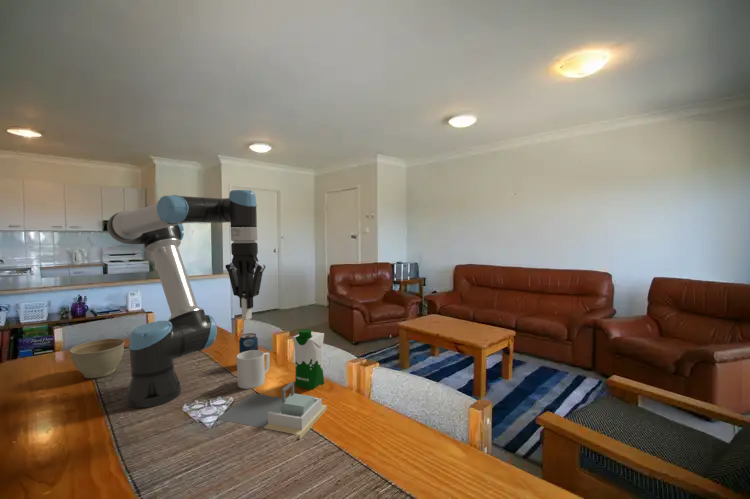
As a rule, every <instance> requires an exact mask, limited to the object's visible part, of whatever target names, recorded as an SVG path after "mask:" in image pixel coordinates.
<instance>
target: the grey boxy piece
mask: <svg viewBox="0 0 750 499" xmlns="http://www.w3.org/2000/svg"><path fill="white" fill-rule="evenodd" d="M289 389H290V394H291V395H290V394H289V395H290V396H289V395H288V396H287V394H286V391H288V390H289ZM286 396H287V397H286ZM314 397H315V396H313V395H307V394H300V393H295V381H291V382H289V383H288V384H287V385H285V386H284V387H283V388H282V389H281V398H282V402H281V414H287V415H293V416H299V417H301V416H302V415H303V414H304V413H305V412H306V411H307V410H308V409H309V408H310V407H311V406H312V405H313V404H314Z"/></svg>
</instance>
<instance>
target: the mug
mask: <svg viewBox="0 0 750 499" xmlns="http://www.w3.org/2000/svg"><path fill="white" fill-rule="evenodd" d="M265 357H266V358H265ZM270 359H271V358H270V352H264V351H262V350H259V349H258V350H250V351H245V352H242V353H240V352H239V353H238V354H237V355H236V373H237V375H236V377H237V378H236V380H237V387H238V388H241V389H244V390H247V389H249V390H250V389H256V388H259V387H261V386H263V385H264V384H265V382H266V374H267V372H268V371H269V369H270ZM265 360H266V364H265Z"/></svg>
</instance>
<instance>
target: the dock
mask: <svg viewBox="0 0 750 499" xmlns="http://www.w3.org/2000/svg"><path fill="white" fill-rule="evenodd" d="M290 395H291V393H289V395H288V396H290ZM322 399H323V398H322V397H321V398H320V397H315V396H314V404H313V405H312V406H311V407H310V408H309V409H308V410H307V411H306V412H305V413H304V414H303V415H302V416H301V417H299V416H293V415H287V414H281V402H282V397H278V396H270V395H266V394H265V395H264V394H258V393H252V394H250V395H249V396H247V397H246V398H245V399H243V400H242V401H240V402H238V404H236V405H235V406H233V407H232V408H231V409H229V410H228V411H226V412H225V413H223V414H222V415H221V416H220V417H218V418H217V420H219V421H225V422H229V423H235V424H241V425H245V426H250V427H251V426H252V427H256V428H261V429H266V430H271V431H277V432H282V433H288V434H292V435H298V437H297V438H296V440H301V439H302V438H303V437H304V436H305V434H307V432H308V431H309V430H310V429H311V428H312V427H313V426H314V424H315V423H316V422H317V421H318V420H319V418H320V417H322V416H323V414H324V413H325V412H327V410H328V405H327V404H323V403H322V402H323V401H322Z"/></svg>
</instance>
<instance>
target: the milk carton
mask: <svg viewBox="0 0 750 499" xmlns="http://www.w3.org/2000/svg"><path fill="white" fill-rule="evenodd" d="M324 340H325V333H324V332H317V331H312V330H311V329H310V328H303V329H300V330H299V331H298V334H296V335H294V336H293V337H292V341H293V346H294V357H295V358H294V363H295V366H294V367H295V381H294V387H297V388H301V389H307V390H311V391H312V390H314V389H316V388H317V387H319V386H324V385H325V377H324V363H323V362H324V357H323V356H324V353H323V351H324V350H323V349H324V348H323V346H324V345H323V344H324ZM323 384H324V385H323Z"/></svg>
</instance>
